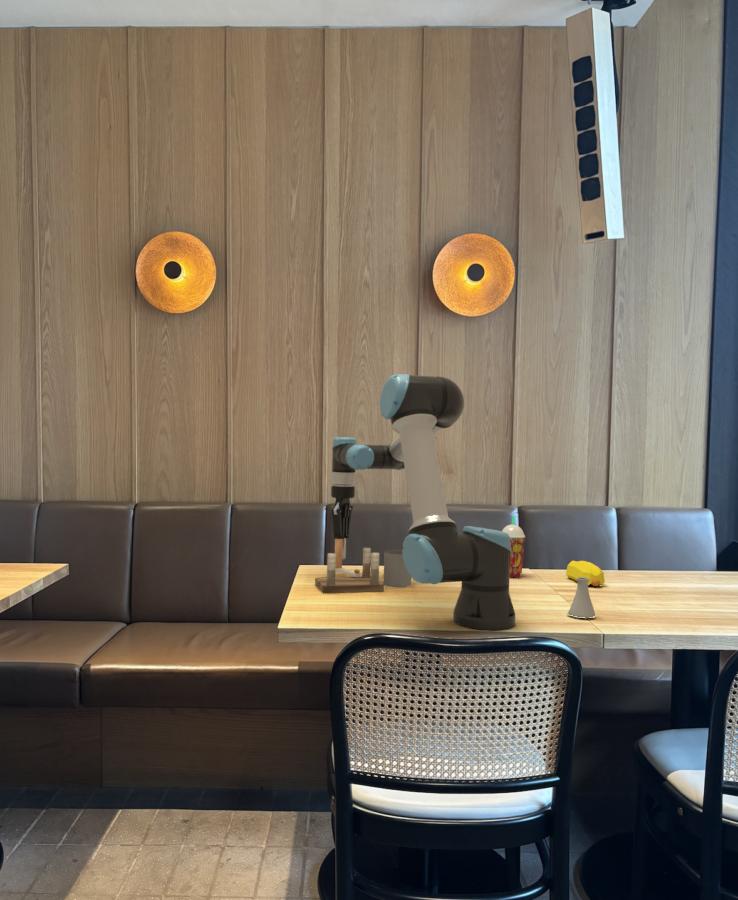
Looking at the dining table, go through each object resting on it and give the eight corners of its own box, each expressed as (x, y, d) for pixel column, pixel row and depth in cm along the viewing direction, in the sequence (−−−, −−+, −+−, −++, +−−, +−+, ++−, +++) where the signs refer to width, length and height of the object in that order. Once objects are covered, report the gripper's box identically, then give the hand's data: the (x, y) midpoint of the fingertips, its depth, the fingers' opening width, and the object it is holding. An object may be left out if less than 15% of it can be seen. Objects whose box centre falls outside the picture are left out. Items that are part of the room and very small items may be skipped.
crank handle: (354, 577, 209) (355, 544, 209) (332, 570, 218) (333, 538, 218) (361, 576, 210) (362, 543, 210) (339, 569, 220) (339, 538, 220)
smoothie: (493, 574, 233) (495, 514, 232) (515, 573, 235) (517, 514, 235) (505, 579, 225) (508, 517, 224) (528, 578, 227) (530, 517, 227)
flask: (573, 611, 184) (575, 574, 184) (600, 616, 180) (601, 578, 180) (562, 616, 179) (563, 578, 179) (589, 622, 174) (591, 582, 174)
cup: (411, 582, 216) (412, 550, 216) (410, 588, 208) (411, 554, 207) (384, 581, 217) (385, 549, 216) (382, 586, 208) (383, 553, 208)
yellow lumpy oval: (585, 589, 214) (609, 589, 215) (586, 567, 214) (609, 567, 215) (561, 577, 232) (583, 577, 233) (562, 557, 232) (584, 557, 233)
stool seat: (383, 591, 202) (384, 553, 201) (323, 593, 197) (324, 554, 197) (372, 582, 213) (373, 547, 213) (314, 584, 209) (315, 547, 208)
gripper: (339, 483, 229) (337, 554, 230) (324, 485, 217) (322, 560, 218) (361, 484, 227) (358, 556, 227) (346, 487, 215) (344, 563, 215)
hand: (340, 558), depth 223 cm, fingers closed
